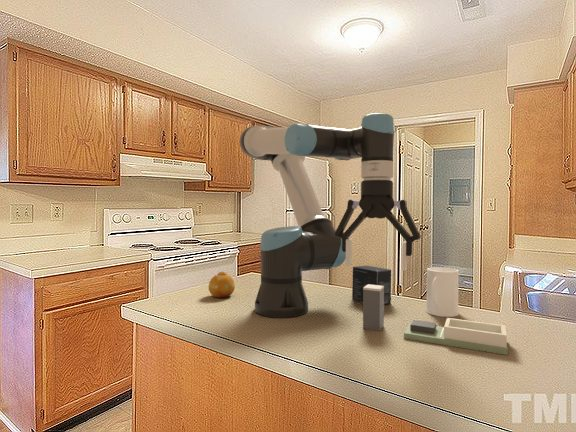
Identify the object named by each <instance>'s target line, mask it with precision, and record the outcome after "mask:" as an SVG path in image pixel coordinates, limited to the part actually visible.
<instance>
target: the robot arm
mask: <svg viewBox="0 0 576 432" xmlns="http://www.w3.org/2000/svg"><path fill="white" fill-rule="evenodd" d="M394 125H395V124H394V117H393V116H392V115H391V114H389V113H383V112H377V113H376V112H375V113H368V114H366V115H363V117H362V118H361V124H360V127H357V128H352V129H346V128H338V127H330V126H321V125H320V126H319V125H314V124H313V125H312V124H308V123H293V124H290V126H283V127H280V126H279V127H277V126H269V125H268V126H267V125H262V124H261V125H252V126H249V127H246V128H245V129H244V130H243V131H242V132H241V134H240V137H239V147H240V149H241V151H242V152H243V153H244V155H246V156H247V157H249V158H250V159H254V160H259V161H270V162H271V164H272V167H273V169H274V170H275V171H276V172H279V174H280V177H281V179H282V183H283V186H284V188H285V192H286V195H287V197H288V199H289V200H288V201H289V202H290V205H291V208H292V211H293V214H294V217H295V219H296V223H297V226H296V225H293V226H292V225H289V226H283V227H281V226H280V227H275V228H271V229H267V230H265V231H263V233H262V234H261V237H260V246H259V250H260V285H259V289H258V291H257V294H256V297H255V301H254V312H255V313H256V314H258V315H261V316H263V317H269V318H279V319H280V318H292V317H293V318H294V317H300V316H302V315H304V314H307V312H308V311H309V301H308V297H307V294H306V291H305V288H304V285H303V272H305V271H309V272H310V271H316V270H330V269H332V268H339V267H340V266H342V265H343V264H344V262H345V266H346V267H349V266H351V265H352V263H353V254H352V253H353V251H352V249H353V238H350V237H351V236H352V235H353V233H354V232H355V231H356V230H357V229H358V227H359V226H360V225H361V224H362V223H363V221H364V220H365V219H367V218H368V219H385V218H386V219H387V220H388V221H389V222H390V224H391V226H393V227H394V229H395V231H397V233H399V235H400V236H401V237H402V238H403V239H404V241H403V242H402V248H401V249H402V253H401V254H402V255H401V258H402V259H401V271H407V270H408V257H411V256H412V255H413V242H415V241H418V240H420V239H421V238H422V236H421V234H420V232H419V230H418V227H417V225H416V224H415V222H414V219H413V217H412V215H411V214H410V211H409V210H408V202H407V200H405V199H401V200H396V201H395V200H394V182H393V180H391V179H393V178H394V146H395V145H394V143H395V142H394V141H395V139H394V138H395V126H394ZM306 157H318V158H319V157H320V158H331V159H335V160H337V161H350V160H353V159H360V158H361V167H360V169H361V170H360V174H361V175H360V178H361V179H363V180H362V181H361V182H360V200H355V199H348V200H347V205H346V210H345V212H344V214H343V216H342V218H341V219H340V222H339V224H338V226H337V228H335V227H334V224H333V222H332V220H331V219H330V218H328V217H326V216H325V215H324V213H323V210H322V208H321V205H320V203H319V200H318V198H317V195H316V193H315V190H314V187H313V185H312V182H311V180H310V179H311V178H310V177H309V175H308V172H307V170H306V167H305V164H304V161H305V158H306ZM358 206H359V208H360V209H361V210H362V211H361V212H360V213H359V215H358V216H357V217H356V218H355V220H354V221H353V222H351V224H350V225H349V226H348V228H347V225H348V223H349V222H350V219H351V218H352V215H353V213H354V211H355V210H356V209H357V208H358ZM395 207H396V208H397V209H398V210H400V212H401V214H402V216H403V218H404V221H405V223H406V225H407V226H408V228H409V229H408V230H410V233H411V234H410V233H409V232H408V230H407V229H406V228H405V227H404V226H403V225H402V223H401V222H400V221H399V219H397V217H396V216H395V215H394V214H393V212H392V210H393V209H394V208H395ZM346 228H347V229H346Z"/></svg>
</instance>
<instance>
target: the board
mask: <svg viewBox="0 0 576 432" xmlns="http://www.w3.org/2000/svg"><path fill="white" fill-rule="evenodd" d="M403 339H407V340H412V341H419V342H425V343H430V344H431V343H432V344H436V345H443V346H450V347H456V348H462V349H467V350H468V349H469V350H473V351H479V350H480V352H485V351H486V352H485V353H491V352H492V354H499V355H506V356H508V355H509V353H508V352H509V350H508V349H509V348H508V345H507V346H506V348H504V347H498V346H492V345H485V344H479V343H472V342H466V341H459V340H453V339H446V338H444V326H439V325H437V323H436V322H433V321H431V322H430V321H427V320H425V321H424V320H419V319H412V321H411V322H410V323H409V324H408V326H407V328H406V329H405V330H404V333H403Z"/></svg>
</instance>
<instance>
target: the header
mask: <svg viewBox="0 0 576 432" xmlns="http://www.w3.org/2000/svg"><path fill="white" fill-rule="evenodd" d="M443 327H444V338H446V339H453V340H459V341H466V342H472V343H479V344H485V345H492V346H498V347H504V348H506V346H507V347H508V341H507V340H508V339H507V336H508V335H507V330H506V324H499V323H498V324H497V323H491V322H489V323H488V322H482V321H480V322H479V321H475V320H467V319H466V320H465V319H458V318H454V317H446V320H445V323H444V326H443Z"/></svg>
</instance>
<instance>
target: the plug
mask: <svg viewBox="0 0 576 432" xmlns="http://www.w3.org/2000/svg"><path fill="white" fill-rule="evenodd" d="M362 305H363V306H362V309H363V310H362V324H363V325H362V329H363V330H369V331H370V330H371V331H377V332H381V330H382V329H383V328H384V327H385V324H384V323H385V322H384V321H385V305H384V286H380V285H370V284H368V285H366V286H365V287H363V303H362Z"/></svg>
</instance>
